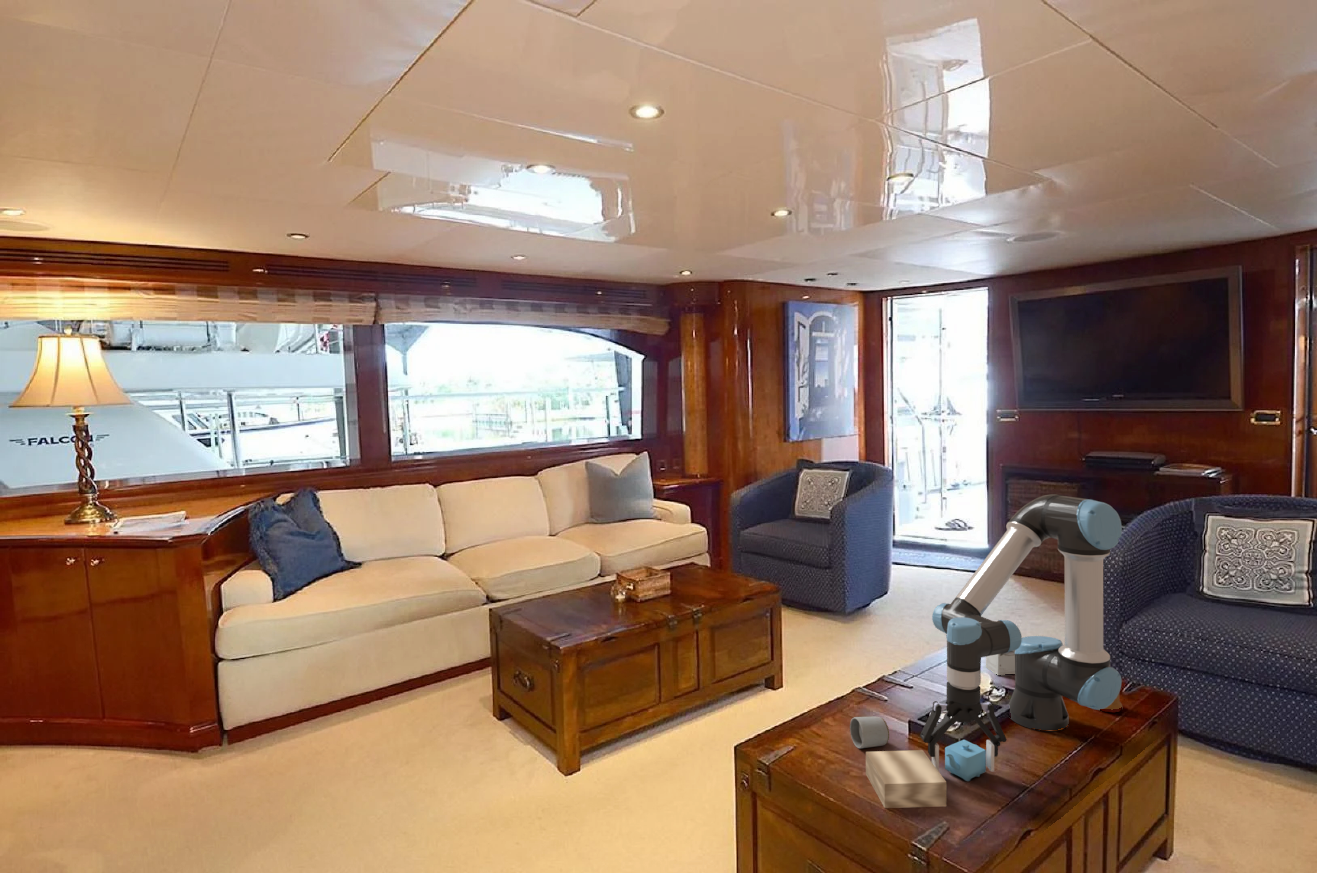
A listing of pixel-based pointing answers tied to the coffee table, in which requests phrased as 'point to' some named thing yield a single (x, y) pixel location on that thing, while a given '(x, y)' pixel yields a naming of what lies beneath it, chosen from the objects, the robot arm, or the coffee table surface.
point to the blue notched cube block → (965, 759)
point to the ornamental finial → (1115, 704)
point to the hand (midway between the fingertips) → (962, 768)
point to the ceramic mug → (869, 731)
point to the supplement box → (1001, 663)
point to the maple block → (905, 779)
